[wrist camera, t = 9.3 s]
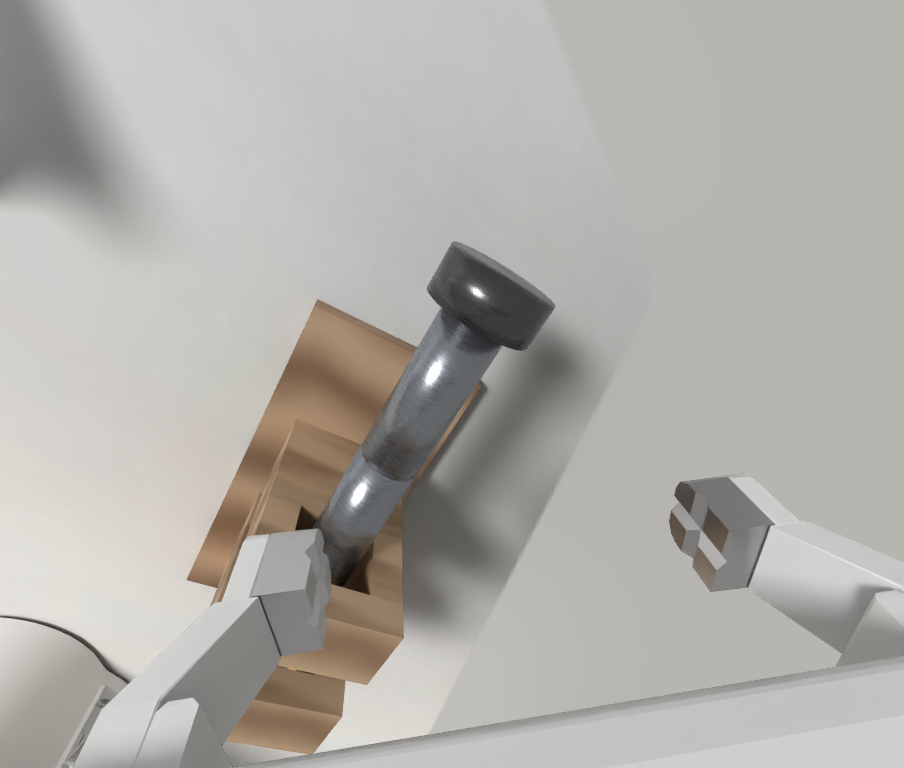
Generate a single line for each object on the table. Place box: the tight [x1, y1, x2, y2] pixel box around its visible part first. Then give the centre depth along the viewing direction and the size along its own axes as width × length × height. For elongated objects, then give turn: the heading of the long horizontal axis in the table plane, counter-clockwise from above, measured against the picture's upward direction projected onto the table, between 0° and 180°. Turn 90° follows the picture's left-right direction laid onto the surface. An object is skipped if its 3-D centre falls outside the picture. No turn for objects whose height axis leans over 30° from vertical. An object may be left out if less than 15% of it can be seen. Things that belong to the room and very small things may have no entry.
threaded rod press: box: [187, 300, 481, 754], centre depth 29 cm, size 26×12×15 cm, turn 150°
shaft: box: [277, 242, 555, 669], centre depth 23 cm, size 26×5×5 cm, turn 150°
